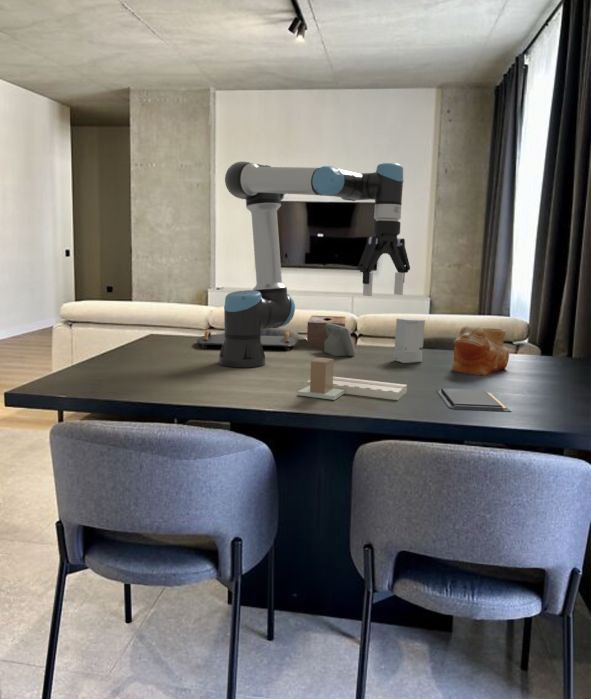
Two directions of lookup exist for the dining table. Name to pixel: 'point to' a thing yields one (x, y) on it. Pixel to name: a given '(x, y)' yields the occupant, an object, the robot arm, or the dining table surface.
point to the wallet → (471, 400)
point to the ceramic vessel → (480, 351)
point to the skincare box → (409, 340)
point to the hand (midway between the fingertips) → (383, 295)
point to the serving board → (265, 340)
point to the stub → (321, 380)
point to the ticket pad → (369, 388)
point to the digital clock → (338, 341)
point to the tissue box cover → (321, 329)
